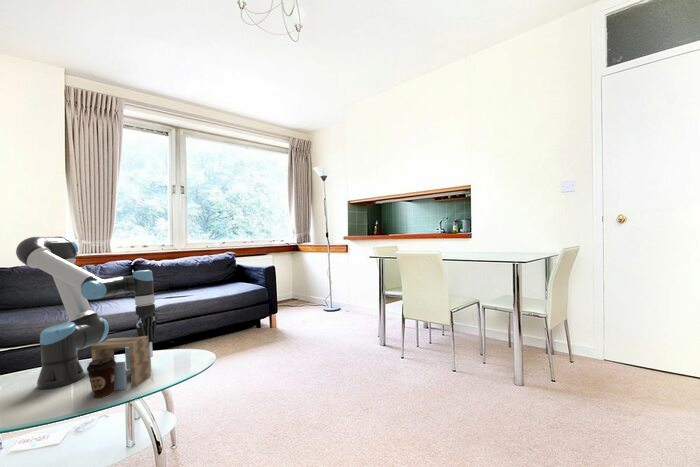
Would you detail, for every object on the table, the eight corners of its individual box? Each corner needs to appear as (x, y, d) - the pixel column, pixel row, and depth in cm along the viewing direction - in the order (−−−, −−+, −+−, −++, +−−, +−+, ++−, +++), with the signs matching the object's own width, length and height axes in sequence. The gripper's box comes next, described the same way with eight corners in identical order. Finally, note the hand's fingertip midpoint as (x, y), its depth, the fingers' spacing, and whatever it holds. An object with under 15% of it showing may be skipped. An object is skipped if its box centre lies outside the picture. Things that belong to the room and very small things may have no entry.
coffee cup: (102, 402, 121) (99, 366, 120) (83, 401, 122) (79, 365, 122) (123, 389, 129) (120, 355, 129) (105, 389, 131) (101, 355, 130)
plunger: (127, 372, 147) (125, 347, 147) (152, 371, 147) (151, 345, 147) (95, 391, 129) (93, 362, 129) (124, 389, 129) (122, 360, 129)
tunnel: (112, 380, 142) (109, 338, 142) (150, 377, 142) (148, 335, 142) (94, 390, 132) (91, 346, 132) (135, 387, 132) (132, 343, 132)
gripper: (146, 302, 161) (149, 353, 161) (127, 308, 148) (131, 363, 147) (161, 301, 161) (165, 351, 160) (144, 306, 148) (148, 361, 147)
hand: (148, 357), depth 154 cm, fingers closed
